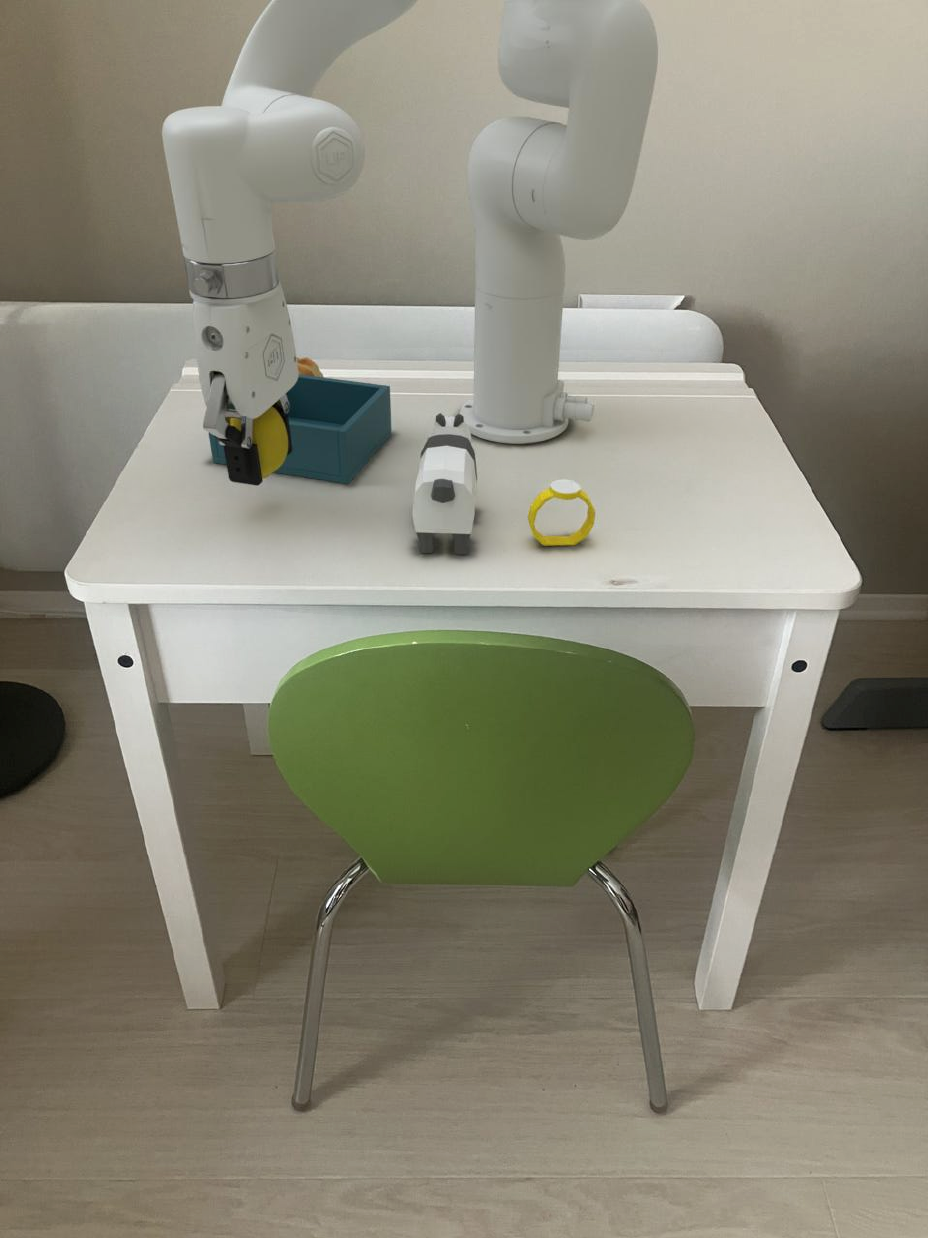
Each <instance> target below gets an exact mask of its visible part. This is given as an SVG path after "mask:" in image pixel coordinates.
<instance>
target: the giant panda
mask: <svg viewBox="0 0 928 1238" xmlns="http://www.w3.org/2000/svg"><path fill="white" fill-rule="evenodd" d="M430 430H431V431H430V433H429V434H428V437H427V441H426V442H425V444H424V446H423V448H422V450H421V452H420V458H419V467H418V468H419V469H418V473H417V476H416V480H415V486H414V487H415V488H414V495H413V496H414V498H413V504H412V512H411V516H412V522H413V525H414V530H415V534H416V536H417V539H418V550H419V551H418V552H419V553H421V554H425V555H426V554H433V553H434V552H435V550H436V536H435V534H452V537H453V543H452V552H453V554H455V555H460V556H463V555H468V554H469V551H470V539H471V536H472V531H473V526H474V521H475V515H476V514H475V511H476V509H475V508H476V491H477V486H478V485H477V484H478V472H477V471H478V470H477V461H476V454H475V450H474V448H473V446H472V434H471V433H470V430H469V428H468V427H467V425H466V423H465V421H464V416H462V415H461V414H460V413H458V414H456V415H455V416H451V415H450V416H445V415H443V414H442V413H441V412H440V413H438V414H436V415H435V422H434V423H433V426H432V428H431V429H430Z"/></svg>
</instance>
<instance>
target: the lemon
mask: <svg viewBox="0 0 928 1238" xmlns="http://www.w3.org/2000/svg"><path fill="white" fill-rule="evenodd" d="M235 410H236V409H235ZM231 426H235V427H236V428H237V429H238V430H240V431H241V419H237V418H231ZM252 444H257V446H258V453H259V459H260V466H261V473H262V479H267V477H268V476H270V474H272V473H275V472H274V471H276V470H277V469H278V468H279V467H280V466H281V465H282V464H283V462H284V461H285V458H286V455H287V452H288V436H287V431H286V427H285V424H284V422H283V419H282V417H281V416H280V414H279V413H278V412H277V410H276V409H275V408H273V407H272V406H271V407H270V408H269V409H268V410H267V411H265V412H264V413H263V414H262V415H261V416H259V417H258V418H255V419H253V434H252Z"/></svg>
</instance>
